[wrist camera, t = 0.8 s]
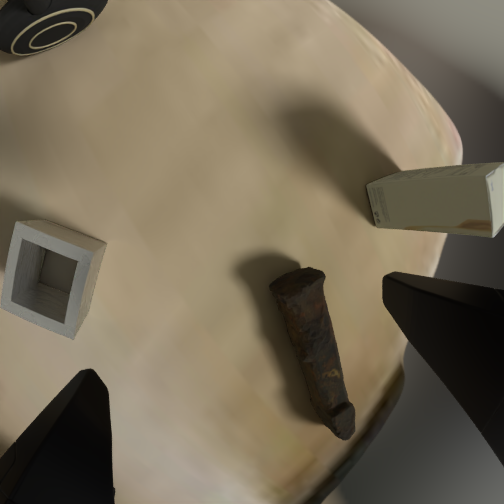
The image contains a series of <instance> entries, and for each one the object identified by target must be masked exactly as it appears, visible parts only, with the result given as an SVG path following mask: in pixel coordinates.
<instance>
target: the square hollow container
mask: <svg viewBox="0 0 504 504" xmlns="http://www.w3.org/2000/svg"><path fill="white" fill-rule="evenodd" d="M106 246H107V243H105V242H102V241H99V240H97V239H94V238H91V237H89V236H86V235H84V234H81V233H78V232H76V231H73V230H71V229H68V228H65V227H63V226H60V225H58V224H55V223H53V222H50V221H48V220H28V221H16V223H15V227H14V231H13V235H12V239H11V244H10V248H9V253H8V258H7V263H6V269H5V275H4V282H3V289H2V297H1V306H0V308H2V309H4V310H6V311H8V312H10V313H12V314H14V315H16V316H18V317H21V318H23V319H25V320H27V321H29V322H32V323H34V324H36V325H38V326H41V327H43V328H46V329H48V330H50V331H53V332H55V333H58V334H60V335H63V336H65V337H68V338H71V339H73V340H74V338H75V336H76V334H77V332H78V330H79V328H80V327H81V325H82V323H83V321H84V319H85V317H86V316H87V314H88V312H89V309H90V305H91V300H92V296H93V292H94V288H95V284H96V281H97V277H98V273H99V270H100V266H101V263H102V259H103V256H104V253H105V249H106ZM46 249H49V250H51V251H54V252H56V253H59V254H61V255H64V256H66V257H69V258H71V259H74V260H76V261H78V264H77V267H76V271H75V275H74V279H73V283H72V288H71V292H70V294H68V293H65V292H63V291H60V290H58V289H55V288H53V287H51V286H48V285H46V284H43V283H41V282H39V279H40V274H41V269H42V265H43V261H44V256H45V252H46Z"/></svg>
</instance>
